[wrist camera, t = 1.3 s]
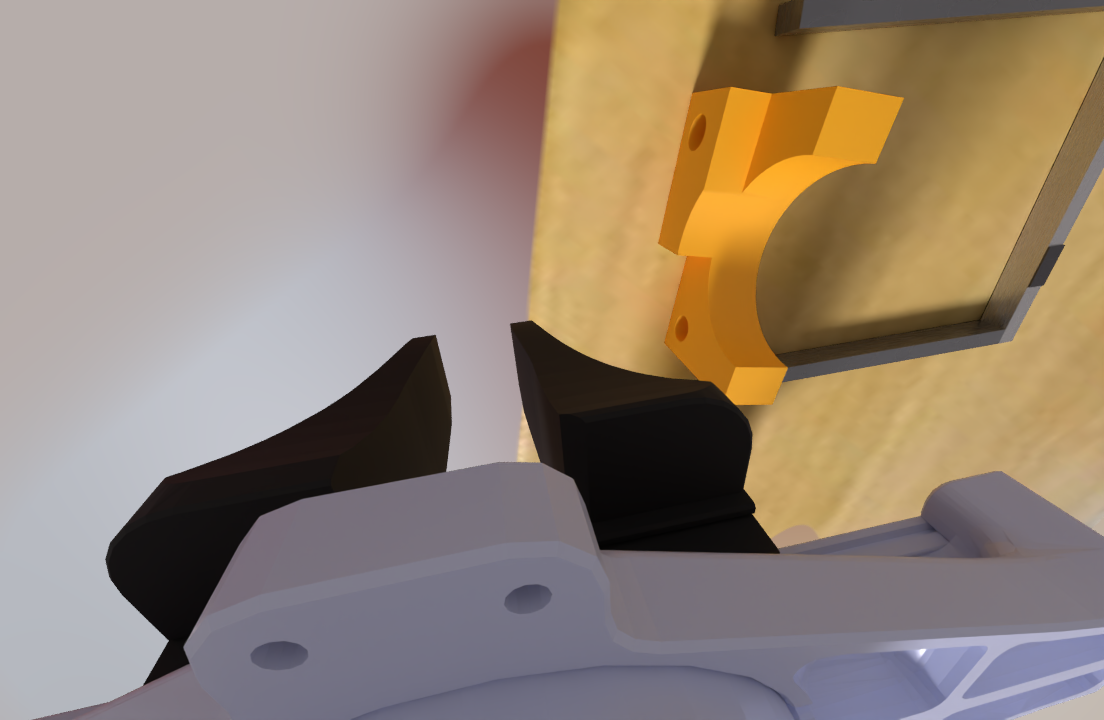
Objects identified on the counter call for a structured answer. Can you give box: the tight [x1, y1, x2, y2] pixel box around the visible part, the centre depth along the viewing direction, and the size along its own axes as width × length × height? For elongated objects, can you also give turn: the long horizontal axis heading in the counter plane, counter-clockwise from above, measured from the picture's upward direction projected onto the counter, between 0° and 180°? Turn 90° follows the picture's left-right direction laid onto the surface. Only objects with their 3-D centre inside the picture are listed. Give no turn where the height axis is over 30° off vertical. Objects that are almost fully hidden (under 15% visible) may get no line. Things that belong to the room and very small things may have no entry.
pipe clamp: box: [658, 86, 904, 405], centre depth 19 cm, size 12×4×6 cm, turn 173°
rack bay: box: [775, 0, 1104, 382], centre depth 22 cm, size 18×19×2 cm
